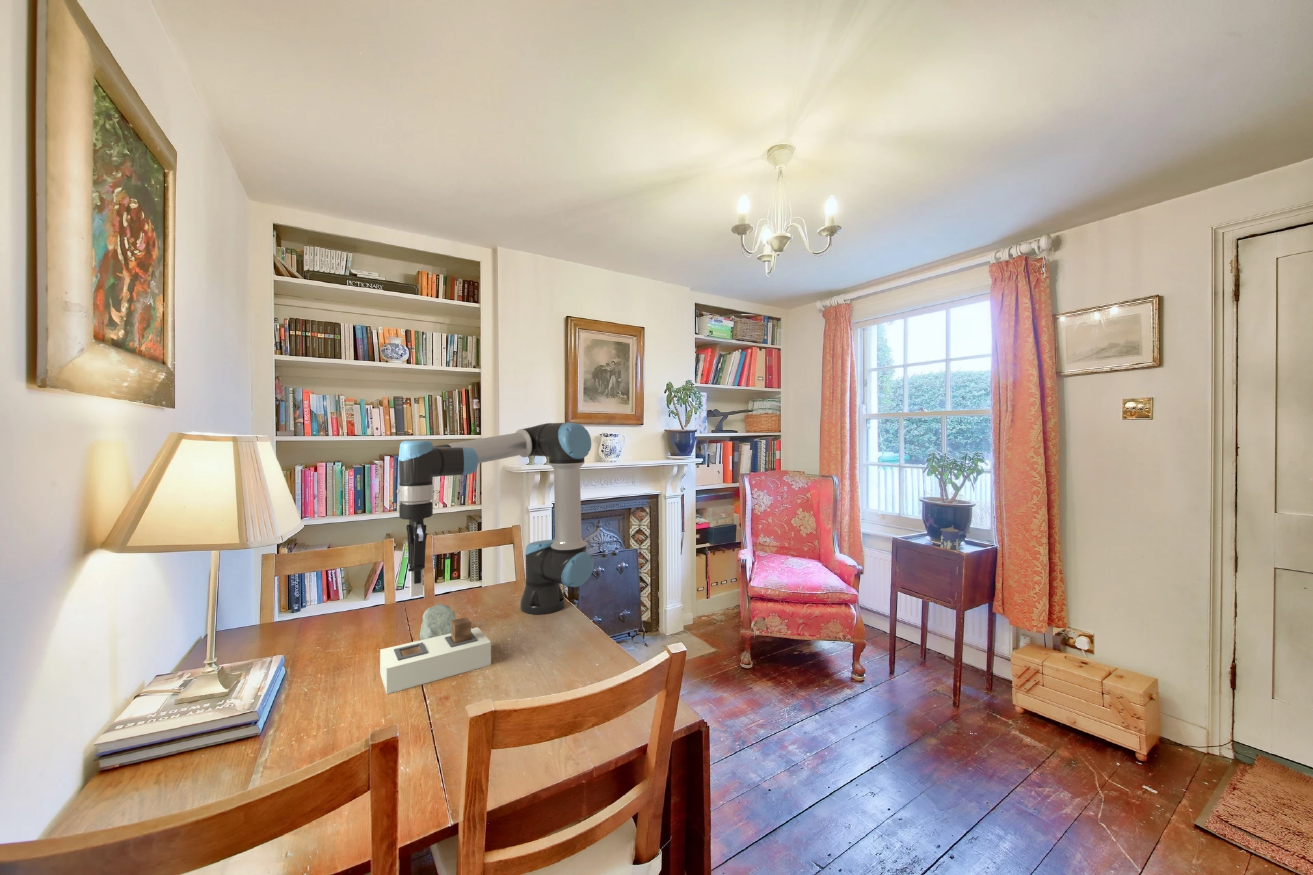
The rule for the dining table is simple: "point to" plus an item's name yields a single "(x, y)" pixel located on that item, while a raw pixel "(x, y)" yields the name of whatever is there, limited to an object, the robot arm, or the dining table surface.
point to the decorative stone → (436, 621)
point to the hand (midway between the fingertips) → (416, 594)
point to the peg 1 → (410, 651)
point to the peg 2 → (460, 630)
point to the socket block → (433, 660)
